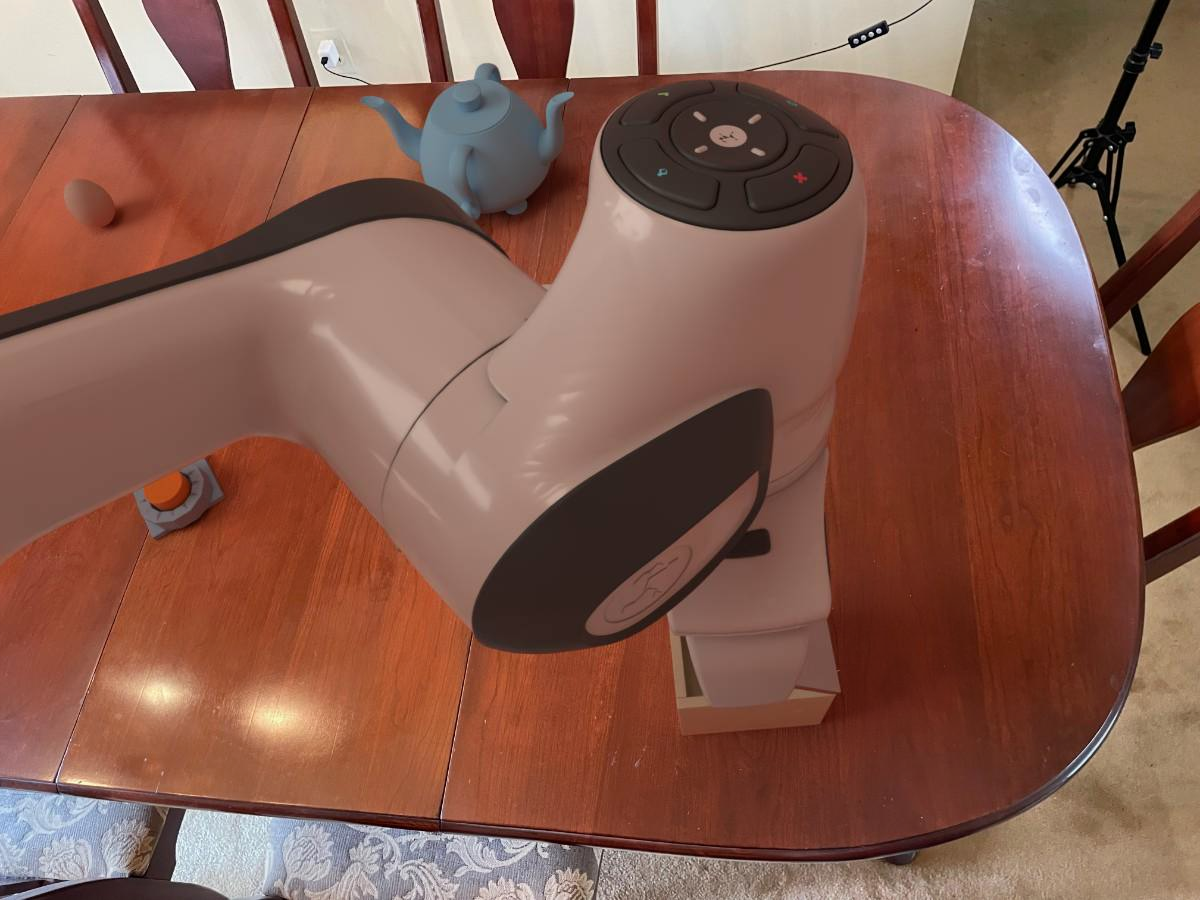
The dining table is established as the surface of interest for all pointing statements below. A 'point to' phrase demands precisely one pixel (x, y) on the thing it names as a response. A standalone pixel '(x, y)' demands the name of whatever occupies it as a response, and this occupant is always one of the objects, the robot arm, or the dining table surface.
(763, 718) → the tin box
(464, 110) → the teapot
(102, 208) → the egg
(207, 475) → the button block
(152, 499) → the button
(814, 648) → the tin lid
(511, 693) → the dining table surface
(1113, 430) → the dining table surface
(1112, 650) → the dining table surface
